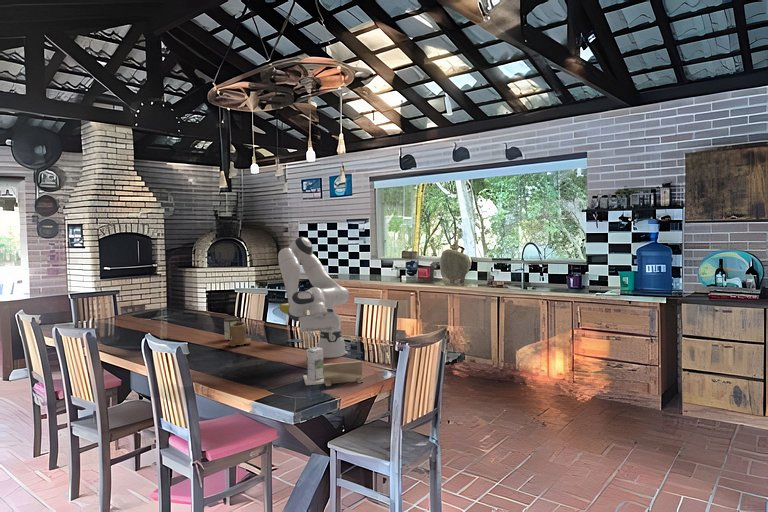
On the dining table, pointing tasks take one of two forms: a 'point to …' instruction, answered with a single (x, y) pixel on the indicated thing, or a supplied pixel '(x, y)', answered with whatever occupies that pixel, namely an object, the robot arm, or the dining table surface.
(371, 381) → the dining table surface
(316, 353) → the syrup box
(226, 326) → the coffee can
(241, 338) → the stone cup
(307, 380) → the display pad
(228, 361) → the dining table surface
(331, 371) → the birch screen
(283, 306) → the cocktail glass
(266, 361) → the dining table surface
